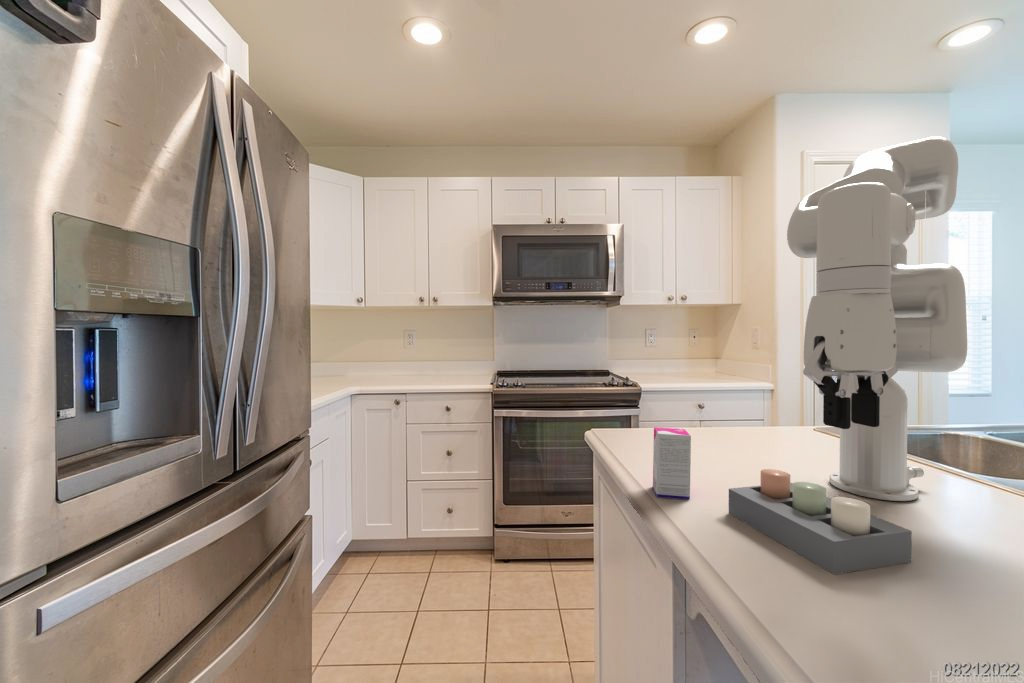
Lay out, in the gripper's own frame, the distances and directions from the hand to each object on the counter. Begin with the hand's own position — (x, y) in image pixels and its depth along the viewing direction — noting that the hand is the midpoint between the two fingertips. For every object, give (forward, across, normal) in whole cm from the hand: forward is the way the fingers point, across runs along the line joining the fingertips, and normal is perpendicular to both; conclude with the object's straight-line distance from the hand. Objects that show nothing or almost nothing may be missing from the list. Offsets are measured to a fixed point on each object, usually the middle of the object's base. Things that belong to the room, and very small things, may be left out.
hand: (850, 424), depth 55 cm
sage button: (+14, 0, -6) cm, 15 cm away
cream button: (+14, 0, 0) cm, 14 cm away
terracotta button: (+14, 0, -12) cm, 19 cm away
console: (+17, 0, -6) cm, 18 cm away
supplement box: (+17, +10, -25) cm, 32 cm away
